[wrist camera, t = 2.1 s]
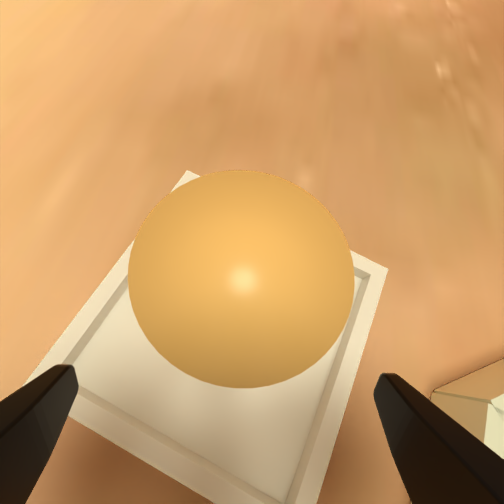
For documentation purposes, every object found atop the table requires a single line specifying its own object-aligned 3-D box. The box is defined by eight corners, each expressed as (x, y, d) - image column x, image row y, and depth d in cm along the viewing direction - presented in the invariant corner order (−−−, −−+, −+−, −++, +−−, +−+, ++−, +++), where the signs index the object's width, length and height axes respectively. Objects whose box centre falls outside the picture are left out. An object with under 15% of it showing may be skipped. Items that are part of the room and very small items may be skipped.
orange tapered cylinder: (247, 379, 16) (305, 441, 5) (176, 339, 16) (73, 311, 5) (281, 305, 18) (380, 225, 7) (216, 271, 18) (205, 140, 7)
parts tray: (290, 528, 14) (300, 555, 12) (45, 383, 15) (20, 387, 14) (373, 276, 20) (388, 269, 18) (190, 186, 21) (187, 170, 19)
